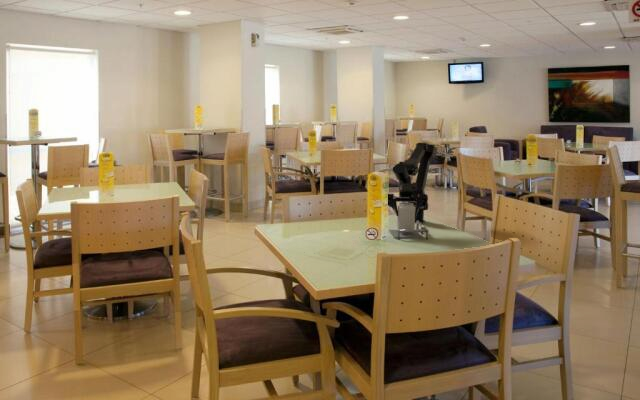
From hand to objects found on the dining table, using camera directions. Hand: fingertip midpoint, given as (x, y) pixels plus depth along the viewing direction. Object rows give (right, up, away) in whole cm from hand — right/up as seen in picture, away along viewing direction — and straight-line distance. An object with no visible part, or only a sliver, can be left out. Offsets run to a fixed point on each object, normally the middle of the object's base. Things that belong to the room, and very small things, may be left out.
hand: (406, 215), depth 240 cm
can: (0, -7, +3) cm, 7 cm away
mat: (0, -8, +3) cm, 9 cm away
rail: (+1, -8, +4) cm, 9 cm away
